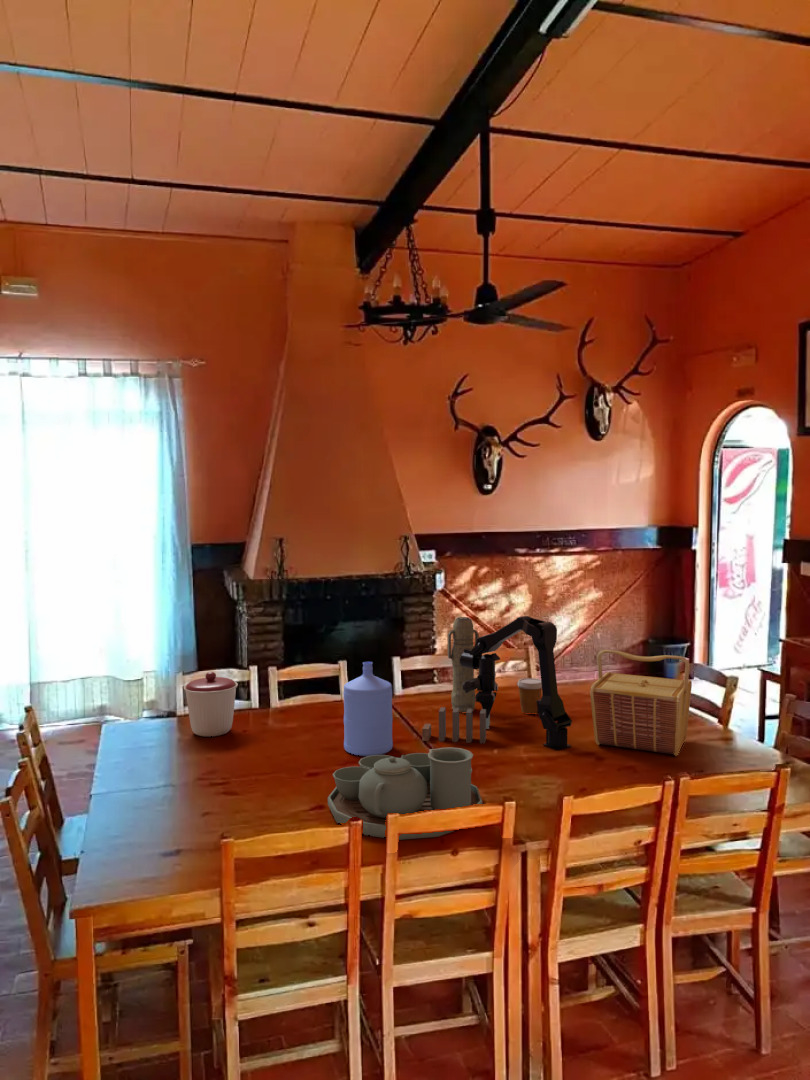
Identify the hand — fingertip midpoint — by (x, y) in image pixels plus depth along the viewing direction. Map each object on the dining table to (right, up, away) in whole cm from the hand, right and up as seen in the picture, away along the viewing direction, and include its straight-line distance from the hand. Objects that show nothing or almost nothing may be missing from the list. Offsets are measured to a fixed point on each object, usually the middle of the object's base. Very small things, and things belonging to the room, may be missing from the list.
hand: (486, 715), depth 276 cm
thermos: (-7, -3, +22) cm, 23 cm away
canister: (-95, -5, -4) cm, 95 cm away
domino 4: (-3, -5, -15) cm, 16 cm away
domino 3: (-7, -5, -14) cm, 17 cm away
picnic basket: (+48, -5, -19) cm, 52 cm away
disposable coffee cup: (+18, -3, +18) cm, 26 cm away
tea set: (-29, -9, -70) cm, 76 cm away
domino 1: (-16, -5, -12) cm, 21 cm away
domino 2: (-12, -5, -13) cm, 18 cm away
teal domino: (0, -4, 0) cm, 4 cm away
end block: (-21, -5, -11) cm, 25 cm away
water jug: (-40, -6, -22) cm, 46 cm away
